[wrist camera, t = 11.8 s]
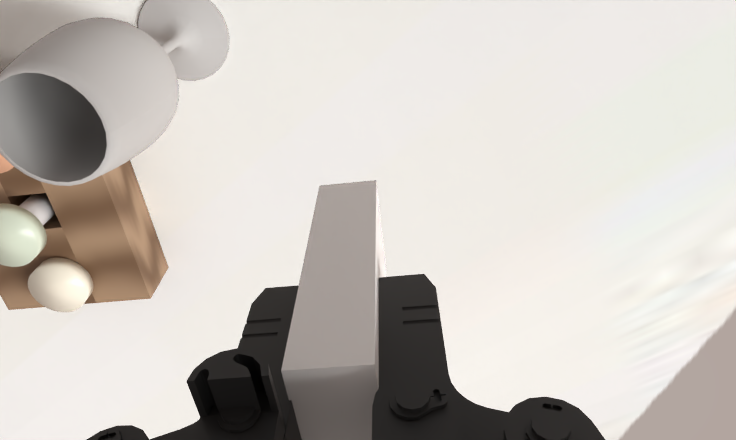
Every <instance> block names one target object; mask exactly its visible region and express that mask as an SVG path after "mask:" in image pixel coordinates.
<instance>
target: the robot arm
mask: <svg viewBox="0 0 736 440" xmlns="http://www.w3.org/2000/svg"><path fill="white" fill-rule="evenodd" d="M187 384H188V386H189V389H190V391H191V394H192V397H193V399H194V402H195V404H196V407H197V409H198V412H199V415H200V419H199V420H198V421H197V422H195V423H194V424H192V425H189V426H187V427H185V428H182V429H180V430H177V431H174V432H171V433H168V434H165V435H162V436H159V437H156V438H153V439H150V440H605V439H604V437H603V436H602V435H601V433H600V432H599V430H598V429H597V428H596V426H595V425H594V424H593V422H592V421H591V420H590V419H589V418H588V417H587V416H586V415H585V414H584V413H583V412H582V411H581V410H580V409H579V408H577V407H575V406H573V405H571V404H569V403H567V402H565V401H563V400H559V399H554V398H549V397H538V398H529V399H527V400H525V401H522V402H520V403H518V404H516V405H515V406H514V407H513V408H512V410H511V411H510V412H504V411H500V410H495V409H490V408H486V407H483V406H480V405H477V404H475V403H473V402H471V401H469V400H467V399H466V398H464V397H463V396H462V395H461V394H460V393H459V392H458V391H457V390H456V389H455V387H454V386H453V384H452V383H451V380H450V377H449V374H448V367H447V361H446V354H445V347H444V340H443V334H442V327H441V321H440V313H439V307H438V300H437V293H436V287H435V286H434V285H433V284H432V283H431V282H430V280H429V279H428V278H427V277H426V276H425V274H418V275H405V276H393V277H386V260H385V252H384V243H383V234H382V226H381V217H380V209H379V200H378V191H377V183H376V180H375V181H364V182H353V183H343V184H332V185H321V186H319V191H318V196H317V201H316V205H315V210H314V215H313V220H312V225H311V229H310V234H309V239H308V244H307V249H306V253H305V258H304V263H303V268H302V273H301V278H300V282H299V286H288V287H275V288H265V290H264V291H263V292H262V293H261V294H260V295H259V296H258V297H257V299H256V300H255V301H254V302H253V303H252V305H251V308H250V311H249V315H248V318H247V324H245V327H244V330H243V334H242V338H241V340H240V343H239V346H238V349H232V350H228V351H223V352H220V353H218V354H216V355H214V356H212V357H209V358H207V359H206V360H205V361H203V362H202V363H201V364H200V365H199V366H197V367H196V368H195V369H194V370H193V372H192V373H191V375H190V377H189V378H188V380H187ZM87 440H149V439H148V437H147V436H146V434H145V433H144V431H143V430H141V429H139V428H137V427H134V426H132V425H130V426H115V427H112V428H109V429H106V430H103V431H100V432H99V433H97V434H95V435H94V436H92V437H90V438H89V439H87Z"/></svg>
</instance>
